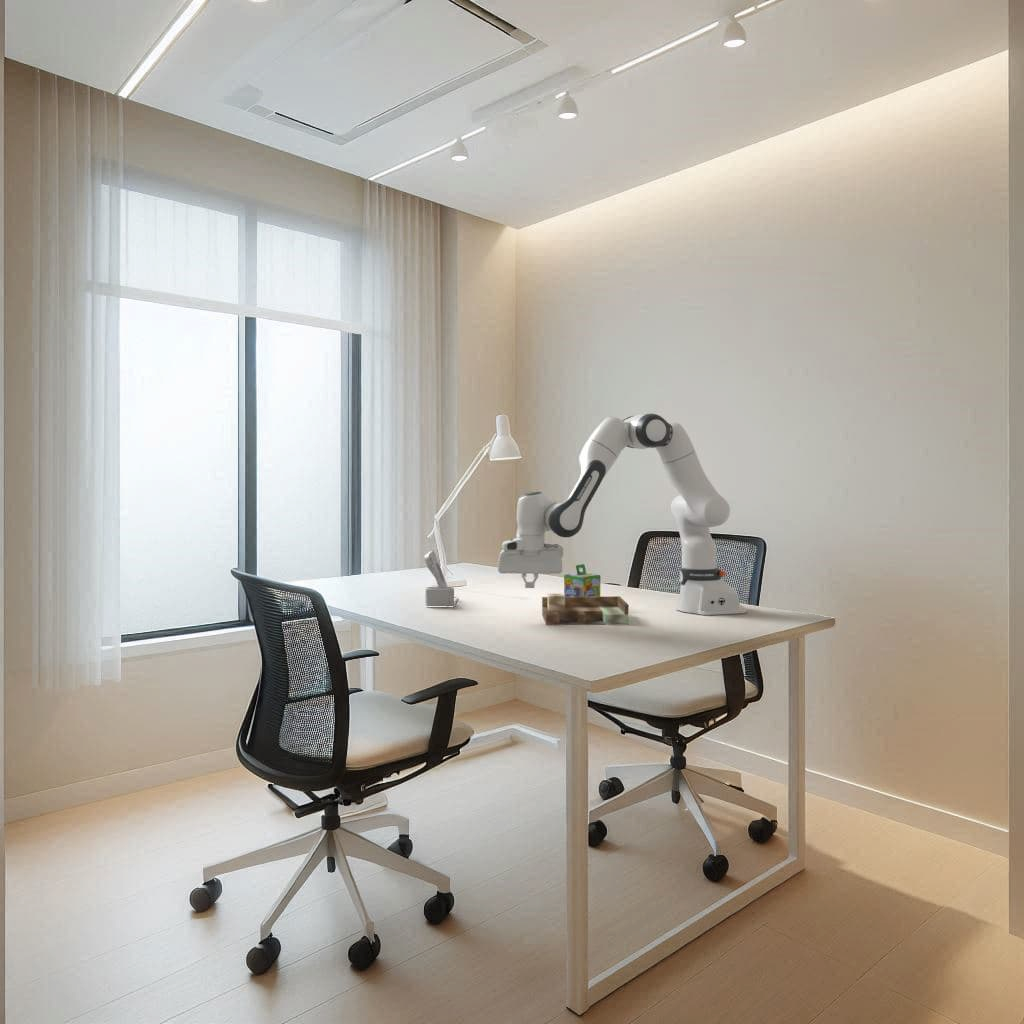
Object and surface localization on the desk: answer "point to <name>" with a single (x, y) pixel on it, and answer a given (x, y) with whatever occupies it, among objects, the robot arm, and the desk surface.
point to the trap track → (588, 611)
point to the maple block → (556, 602)
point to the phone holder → (442, 592)
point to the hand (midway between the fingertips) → (529, 587)
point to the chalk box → (581, 584)
